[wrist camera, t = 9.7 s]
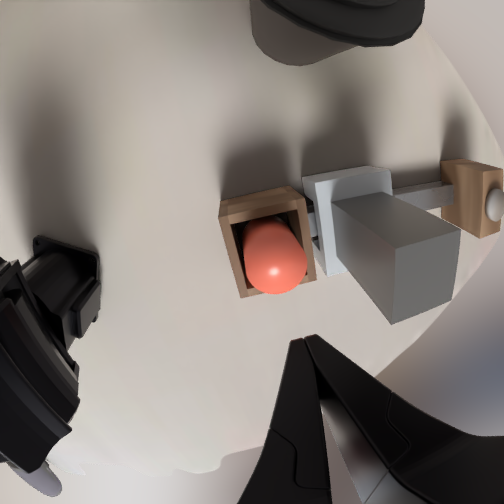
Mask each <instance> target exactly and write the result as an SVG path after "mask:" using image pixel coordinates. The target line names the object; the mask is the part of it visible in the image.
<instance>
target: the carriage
mask: <svg viewBox="0 0 504 504" xmlns="http://www.w3.org/2000/svg"><path fill="white" fill-rule="evenodd" d="M302 182H303V188H304V194H305V195H306V196H307V197H308V198H310V199H311V200H312V201H313V203H314V209H315V216H316V223H317V230H318V237H319V240H315V241H312V245H313V252H314V257H315V258H316V260H317V261H318V263H319V264H320V266H321V267H322V270H323V271H324V273H325V274H326V276H327V277H329V276H333V275H336V274H340V273H344V272H347V271H349V272H350V273H351V274H352V276H353V277H354V278H355V279H356V281H357V282H358V283H359V284H360V286H361V287H362V288H363V289H364V291H365V292H366V293H367V294H368V296H369V297H370V298H371V299H372V301H373V302H374V303H375V304H376V306H377V307H378V308H379V310H380V311H381V312H382V314H383V315H384V316H385V317H386V319H387V320H388V321H389V323H390V324H391V325H392V324H395V323H397V322H400V321H403V320H405V319H408V318H410V317H413V316H415V315H418V314H420V313H423V312H425V311H428V310H430V309H432V308H435V307H437V306H439V305H442V304H444V303H446V302H448V301H450V300H451V299H452V294H453V289H454V283H455V277H456V270H457V263H458V255H459V246H460V236H461V229H459V228H458V227H456V226H454V225H452V224H450V223H448V222H446V221H444V220H442V219H440V218H438V217H436V216H434V215H432V214H430V213H428V212H426V211H424V210H422V209H420V208H418V207H416V206H414V205H412V204H409V203H407V202H405V201H403V200H401V199H398V198H396V197H394V196H393V194H392V181H391V170H389V169H385V168H376V167H372V166H362V167H356V168H350V169H344V170H338V171H332V172H327V173H321V174H316V175H310V176H305V177H302Z"/></svg>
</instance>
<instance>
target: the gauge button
mask: <svg viewBox="0 0 504 504" xmlns="http://www.w3.org/2000/svg"><path fill="white" fill-rule="evenodd" d="M242 245H243V252H244V260H245V268H246V274H247V277H248V279H249V281H250V283H251V284H252V285H253V286H254V287H255V288H256V289H258V290H259V291H262V292H264V293H268V294H280V293H284V292H287V291H290V290H291V289H293V288H294V287H296V286H297V285H298V284H299V283H300V282H301V281H302V279H303V278H304V276H305V274H306V271H307V257H306V254H305V252H304V250H303V249H302V247H301V246H300V244H299V242H298V241H297V239H296V238H295V236H294V235H293V233H292V232H291V230H290V229H289V227H288V225H287V224H286V223H285V222H284V221H283V220H282V219H281V218H279V217H277V216H274V215H269V216H264V217H260V218H256V219H252V220H251V221H250V222H249V223H248V224H247V225H246V227H245V228H244V231H243V234H242Z"/></svg>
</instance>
